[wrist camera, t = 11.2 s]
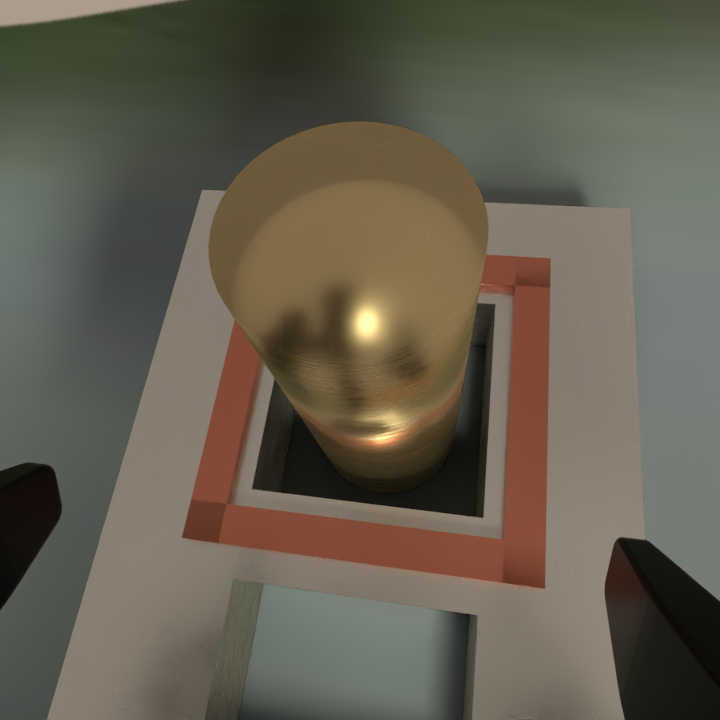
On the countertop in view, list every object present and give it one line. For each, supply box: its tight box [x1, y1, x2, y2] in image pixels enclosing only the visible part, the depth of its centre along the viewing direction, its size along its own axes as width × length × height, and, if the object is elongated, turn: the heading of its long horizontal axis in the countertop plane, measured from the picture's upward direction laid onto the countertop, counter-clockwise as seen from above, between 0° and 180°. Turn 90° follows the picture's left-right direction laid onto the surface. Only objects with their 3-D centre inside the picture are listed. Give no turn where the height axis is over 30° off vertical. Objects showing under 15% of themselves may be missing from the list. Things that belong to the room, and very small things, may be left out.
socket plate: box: [47, 190, 645, 720], centre depth 16 cm, size 22×14×3 cm, turn 172°
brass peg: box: [208, 121, 489, 493], centre depth 14 cm, size 4×4×11 cm
